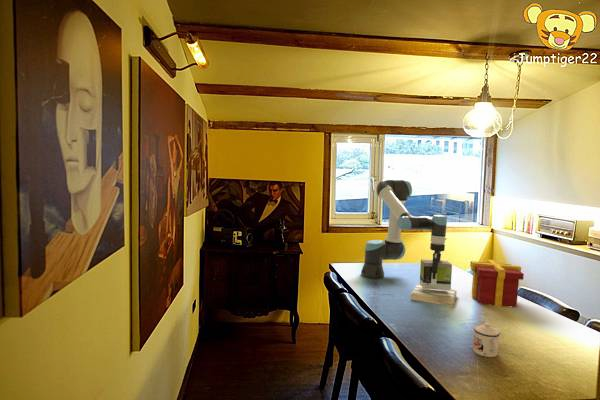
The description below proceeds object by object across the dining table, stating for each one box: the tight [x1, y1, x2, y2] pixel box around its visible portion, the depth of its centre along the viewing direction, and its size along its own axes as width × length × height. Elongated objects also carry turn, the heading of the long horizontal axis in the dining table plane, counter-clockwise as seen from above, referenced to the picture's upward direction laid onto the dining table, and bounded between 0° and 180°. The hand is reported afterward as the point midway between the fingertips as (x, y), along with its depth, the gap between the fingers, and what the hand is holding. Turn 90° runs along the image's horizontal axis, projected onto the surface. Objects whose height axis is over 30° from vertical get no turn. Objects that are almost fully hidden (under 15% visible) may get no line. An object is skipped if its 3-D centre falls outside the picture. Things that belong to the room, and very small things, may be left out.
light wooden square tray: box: [410, 283, 457, 307], centre depth 224 cm, size 20×22×4 cm
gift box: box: [469, 259, 524, 308], centre depth 225 cm, size 25×25×20 cm
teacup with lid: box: [472, 322, 500, 358], centre depth 156 cm, size 12×9×12 cm
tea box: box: [419, 258, 453, 290], centre depth 224 cm, size 15×10×15 cm
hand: (434, 281), depth 224 cm, fingers closed on tea box, 11 cm apart
